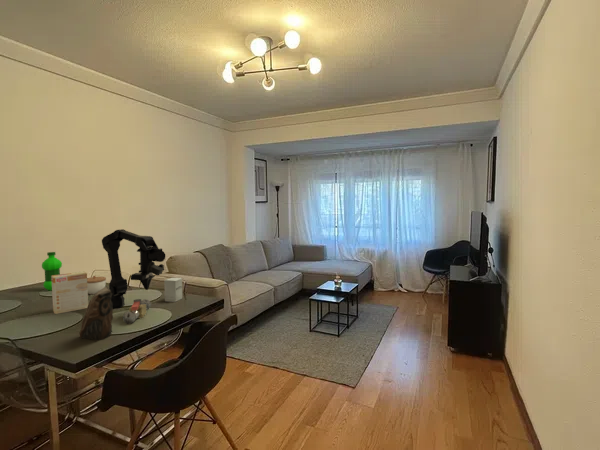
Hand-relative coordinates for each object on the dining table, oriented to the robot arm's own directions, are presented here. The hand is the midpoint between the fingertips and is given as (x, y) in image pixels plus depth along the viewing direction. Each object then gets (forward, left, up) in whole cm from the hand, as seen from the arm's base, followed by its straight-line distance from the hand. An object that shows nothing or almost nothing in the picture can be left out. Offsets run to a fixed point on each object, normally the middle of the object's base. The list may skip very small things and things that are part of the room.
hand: (146, 289), depth 170 cm
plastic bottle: (-79, +52, -12) cm, 95 cm away
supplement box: (+8, +20, -12) cm, 25 cm away
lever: (-1, -11, -6) cm, 13 cm away
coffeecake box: (-42, +7, -12) cm, 44 cm away
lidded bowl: (-47, +41, -12) cm, 64 cm away
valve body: (-2, -7, -12) cm, 14 cm away
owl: (-10, -30, -12) cm, 34 cm away
